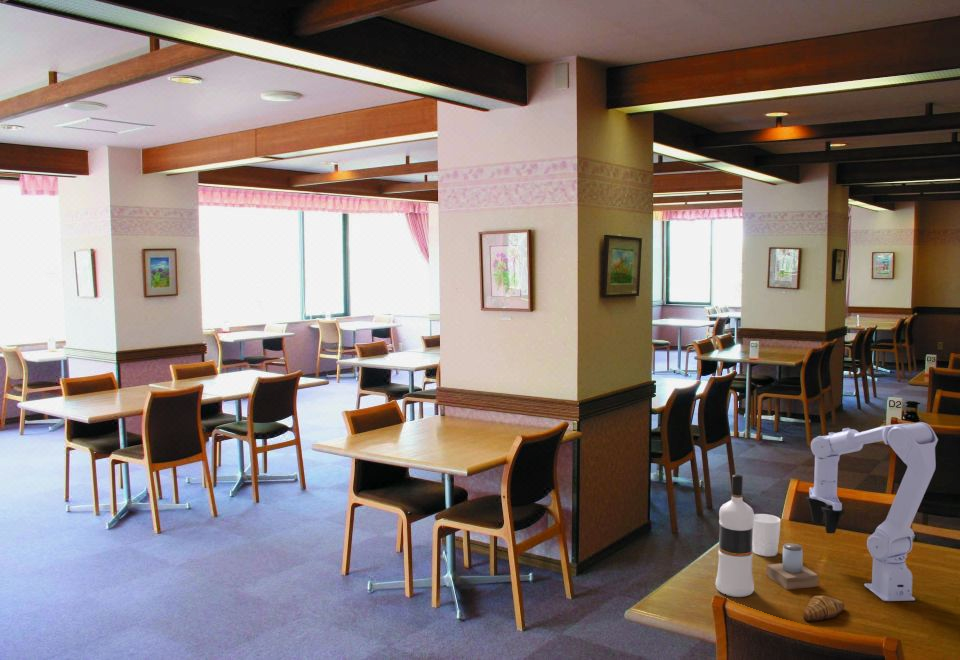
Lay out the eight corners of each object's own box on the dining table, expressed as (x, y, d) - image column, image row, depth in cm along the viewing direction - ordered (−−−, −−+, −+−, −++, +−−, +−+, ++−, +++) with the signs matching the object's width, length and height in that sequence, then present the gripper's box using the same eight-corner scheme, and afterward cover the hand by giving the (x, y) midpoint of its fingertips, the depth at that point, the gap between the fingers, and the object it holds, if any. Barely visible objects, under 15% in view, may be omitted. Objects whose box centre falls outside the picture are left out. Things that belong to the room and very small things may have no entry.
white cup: (775, 547, 230) (776, 514, 229) (782, 558, 222) (783, 523, 221) (747, 546, 231) (748, 513, 230) (753, 557, 223) (754, 522, 222)
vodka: (713, 594, 198) (715, 477, 196) (717, 580, 207) (720, 468, 204) (752, 601, 195) (755, 481, 192) (755, 586, 203) (758, 472, 200)
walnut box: (817, 586, 203) (818, 575, 203) (786, 589, 201) (786, 578, 201) (796, 572, 212) (797, 561, 212) (766, 575, 210) (766, 564, 210)
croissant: (829, 604, 194) (830, 584, 193) (854, 614, 188) (855, 594, 187) (792, 616, 187) (793, 596, 186) (817, 628, 181) (818, 607, 181)
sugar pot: (805, 572, 204) (806, 548, 204) (787, 573, 204) (787, 549, 203) (797, 565, 209) (797, 542, 208) (779, 566, 209) (779, 543, 208)
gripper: (799, 472, 222) (797, 519, 223) (823, 487, 207) (822, 537, 209) (824, 471, 222) (822, 518, 223) (850, 486, 208) (848, 537, 209)
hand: (823, 528), depth 216 cm, fingers open, 7 cm apart
